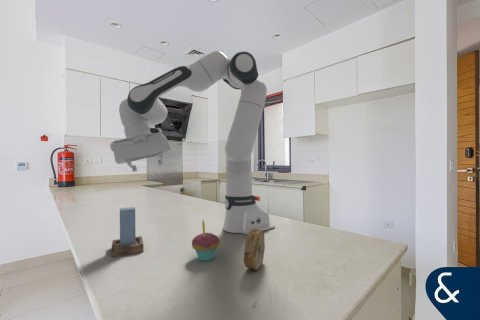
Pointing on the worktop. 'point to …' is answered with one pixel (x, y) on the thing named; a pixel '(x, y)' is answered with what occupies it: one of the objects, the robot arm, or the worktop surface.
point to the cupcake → (205, 245)
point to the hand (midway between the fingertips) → (148, 167)
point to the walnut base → (126, 247)
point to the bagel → (254, 249)
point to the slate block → (127, 226)
